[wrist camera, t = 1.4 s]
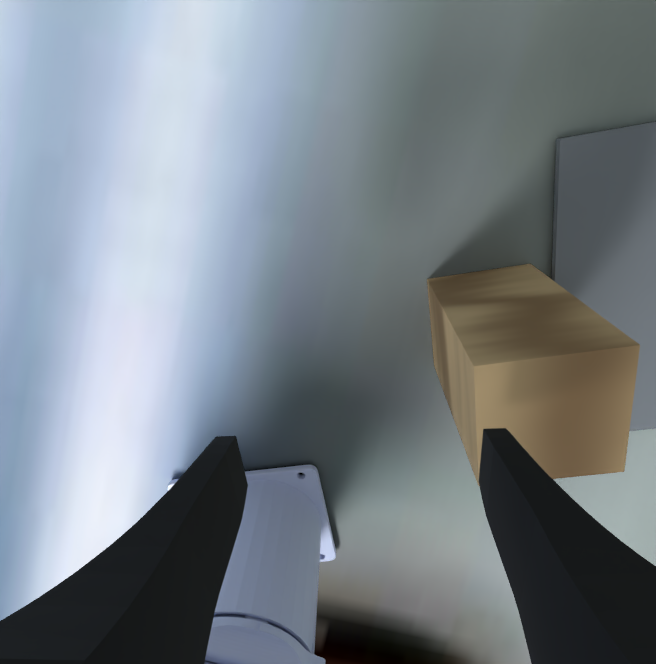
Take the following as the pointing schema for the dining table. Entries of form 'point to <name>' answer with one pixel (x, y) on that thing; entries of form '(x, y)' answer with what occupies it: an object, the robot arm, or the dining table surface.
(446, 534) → the dining table surface
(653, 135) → the grey rubber mat
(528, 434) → the wood block
